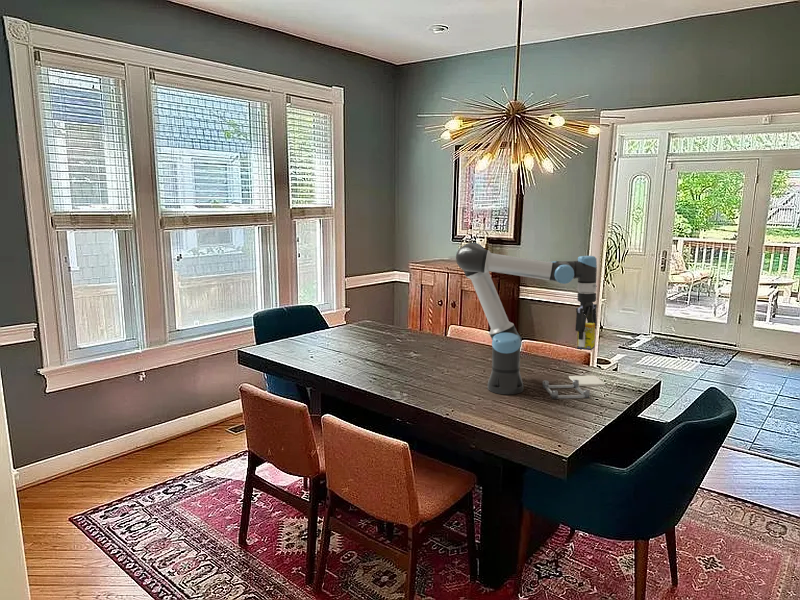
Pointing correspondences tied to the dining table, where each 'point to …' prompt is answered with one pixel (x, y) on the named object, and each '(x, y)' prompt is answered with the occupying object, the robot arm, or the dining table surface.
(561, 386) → the grey rod square frame
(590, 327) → the supplement box
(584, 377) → the plate
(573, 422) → the dining table surface
